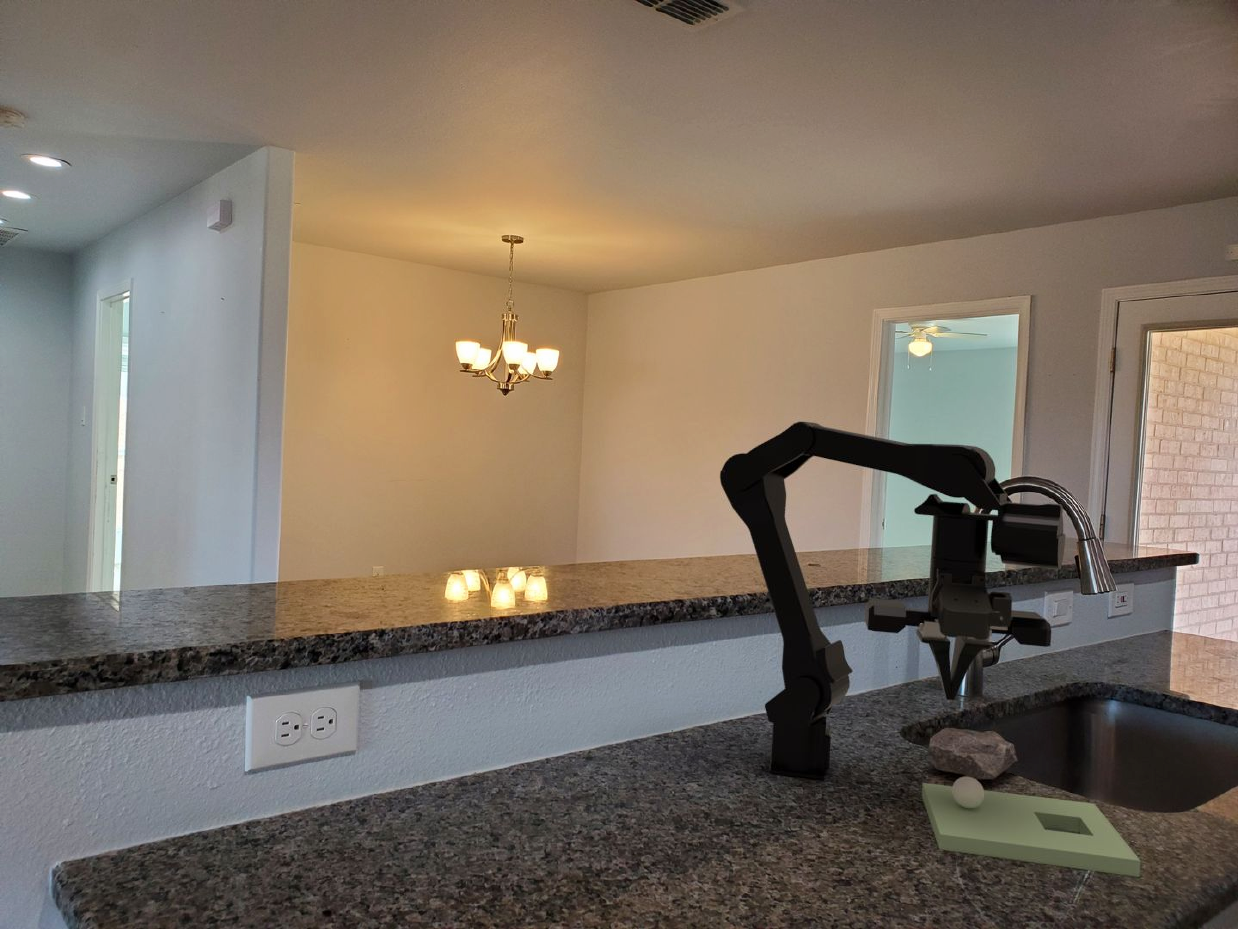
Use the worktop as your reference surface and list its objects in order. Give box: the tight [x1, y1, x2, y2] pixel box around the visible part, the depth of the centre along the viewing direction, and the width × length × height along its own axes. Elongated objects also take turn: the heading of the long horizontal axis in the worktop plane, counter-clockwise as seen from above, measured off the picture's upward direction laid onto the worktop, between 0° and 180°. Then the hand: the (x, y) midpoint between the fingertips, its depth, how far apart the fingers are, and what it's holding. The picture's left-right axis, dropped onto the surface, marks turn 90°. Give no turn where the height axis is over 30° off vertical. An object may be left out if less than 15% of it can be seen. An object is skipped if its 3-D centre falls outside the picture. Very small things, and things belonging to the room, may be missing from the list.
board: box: [921, 782, 1141, 878], centre depth 94 cm, size 18×14×2 cm
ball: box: [952, 776, 985, 809], centre depth 96 cm, size 3×3×3 cm
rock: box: [928, 727, 1019, 780], centre depth 111 cm, size 8×11×5 cm
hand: (949, 699), depth 100 cm, fingers closed
